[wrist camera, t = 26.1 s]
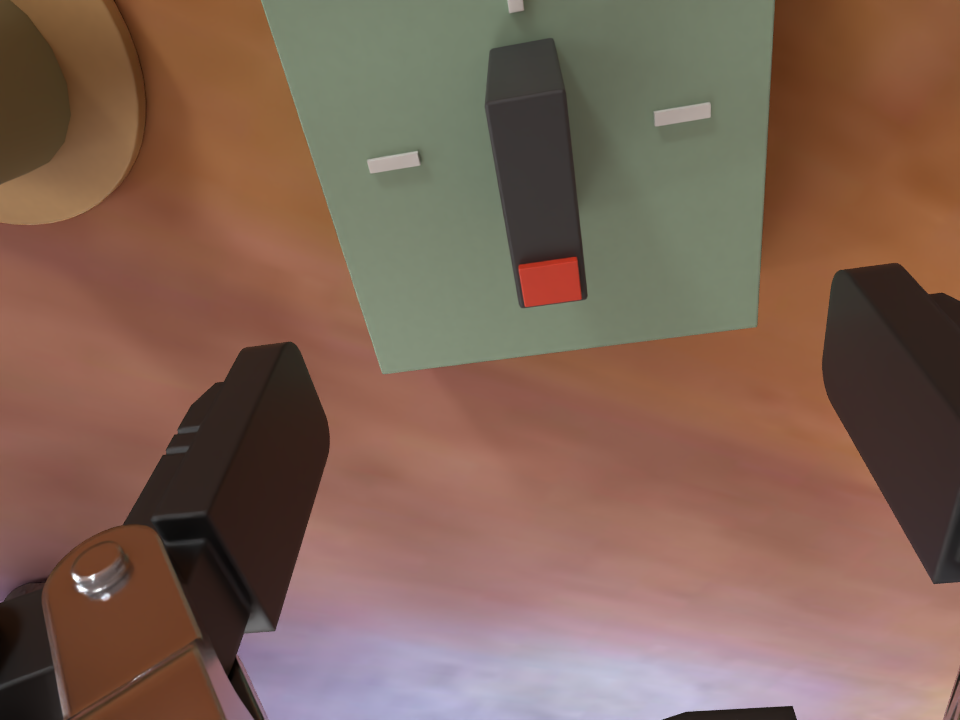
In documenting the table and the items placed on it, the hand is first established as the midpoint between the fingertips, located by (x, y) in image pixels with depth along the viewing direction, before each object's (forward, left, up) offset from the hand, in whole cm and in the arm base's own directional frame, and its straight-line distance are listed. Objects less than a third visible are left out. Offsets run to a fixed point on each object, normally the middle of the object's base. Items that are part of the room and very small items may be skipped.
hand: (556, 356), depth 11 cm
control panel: (0, 0, -13) cm, 13 cm away
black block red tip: (0, 0, -10) cm, 10 cm away
